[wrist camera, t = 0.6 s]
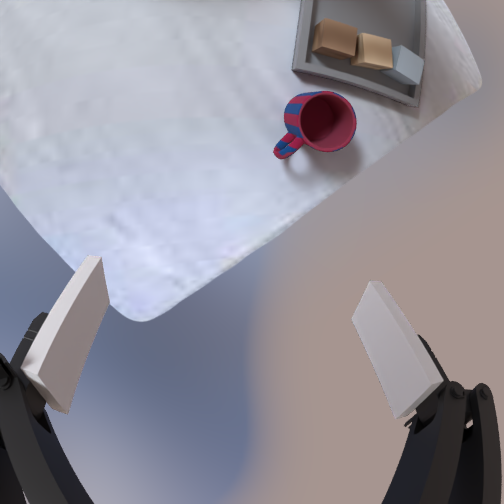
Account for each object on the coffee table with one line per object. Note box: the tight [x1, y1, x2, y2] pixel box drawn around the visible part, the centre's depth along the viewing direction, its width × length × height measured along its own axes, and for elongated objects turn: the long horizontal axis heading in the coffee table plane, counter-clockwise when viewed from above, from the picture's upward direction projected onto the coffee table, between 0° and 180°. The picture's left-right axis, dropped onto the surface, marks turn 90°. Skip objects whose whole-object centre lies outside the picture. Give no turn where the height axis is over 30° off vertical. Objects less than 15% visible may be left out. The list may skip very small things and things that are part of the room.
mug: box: [273, 91, 357, 159], centre depth 28 cm, size 7×10×7 cm
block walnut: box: [311, 18, 358, 60], centre depth 23 cm, size 4×4×4 cm
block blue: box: [380, 45, 425, 85], centre depth 24 cm, size 4×4×4 cm
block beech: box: [350, 33, 393, 70], centre depth 24 cm, size 4×4×4 cm
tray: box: [292, 0, 426, 107], centre depth 22 cm, size 22×18×2 cm
